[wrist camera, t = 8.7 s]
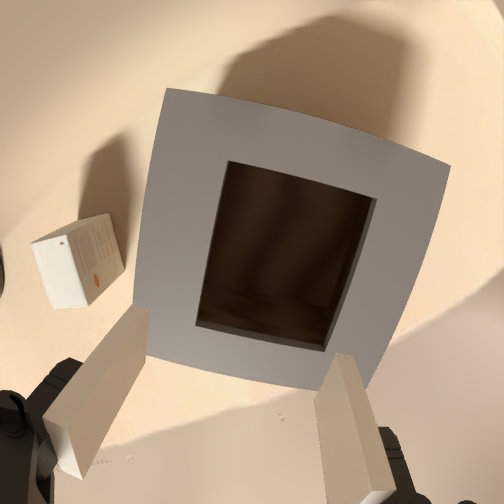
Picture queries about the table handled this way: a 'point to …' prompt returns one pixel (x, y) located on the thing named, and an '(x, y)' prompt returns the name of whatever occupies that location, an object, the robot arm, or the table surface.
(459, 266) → the table surface
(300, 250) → the box
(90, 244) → the small box
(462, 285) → the table surface
